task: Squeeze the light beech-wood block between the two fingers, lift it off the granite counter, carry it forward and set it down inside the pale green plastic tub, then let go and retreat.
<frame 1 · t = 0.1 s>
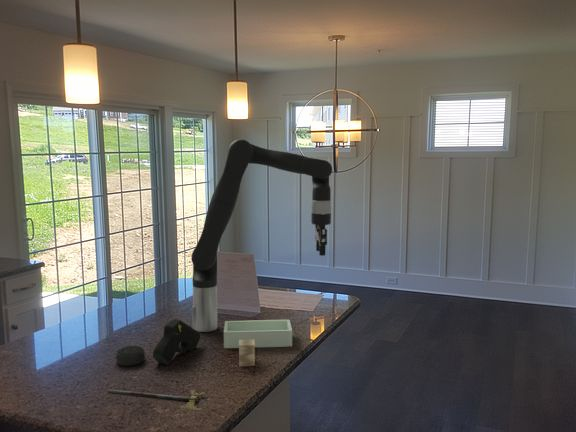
hand: (320, 253, 199), 29 cm above the kitchen island, fingers open, 8 cm apart
smart speaker: (130, 362, 168), on the kitchen island
taser: (178, 356, 173), on the kitchen island
tub: (257, 341, 186), on the kitchen island
decorative axe: (159, 397, 144), on the kitchen island
block: (247, 363, 167), on the kitchen island
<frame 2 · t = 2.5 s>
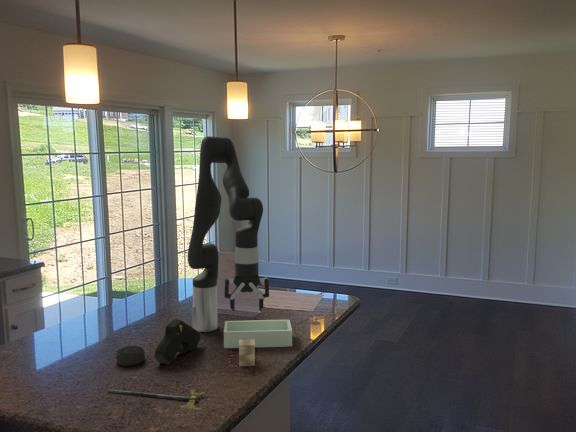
hand: (246, 309, 165), 18 cm above the kitchen island, fingers open, 8 cm apart
nothing on the kitchen island moved.
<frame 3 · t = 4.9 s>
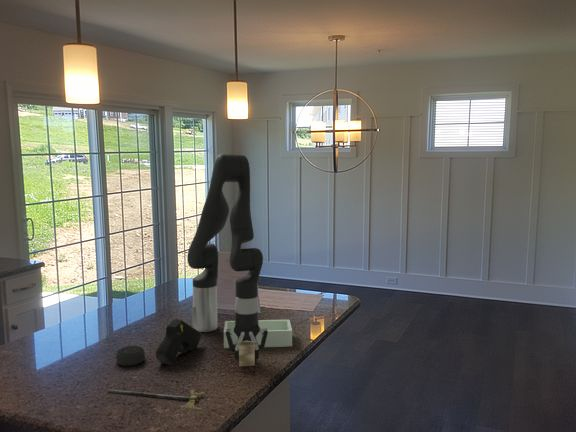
hand: (246, 359, 167), 1 cm above the kitchen island, fingers closed on block, 5 cm apart
block: (246, 362, 167), on the kitchen island, touching gripper
everything else where it was.
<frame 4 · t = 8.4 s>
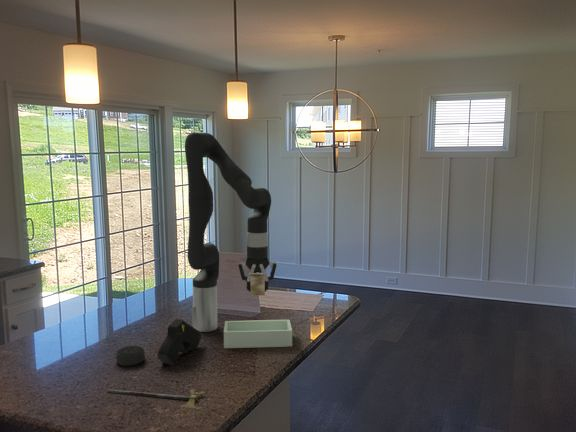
hand: (257, 290, 184), 19 cm above the kitchen island, fingers closed on block, 5 cm apart
block: (257, 293, 184), point 18 cm above the kitchen island, touching gripper
everything else where it was.
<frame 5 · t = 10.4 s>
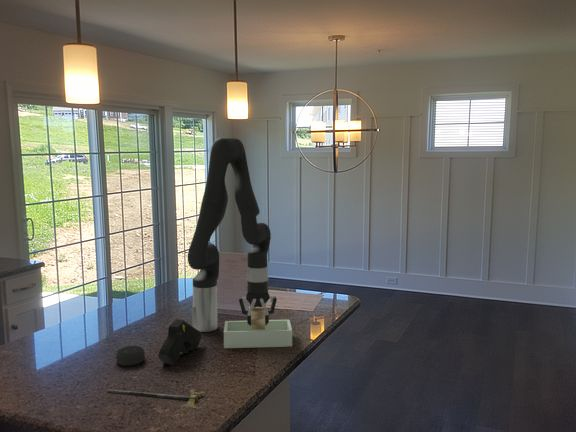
hand: (258, 324, 185), 6 cm above the kitchen island, fingers closed on block, 5 cm apart
block: (258, 327, 185), point 5 cm above the kitchen island, touching gripper
when the fingers open (3 cm above the kitchen island, at t = 12.1 s): block drops 1 cm, resting on tub.
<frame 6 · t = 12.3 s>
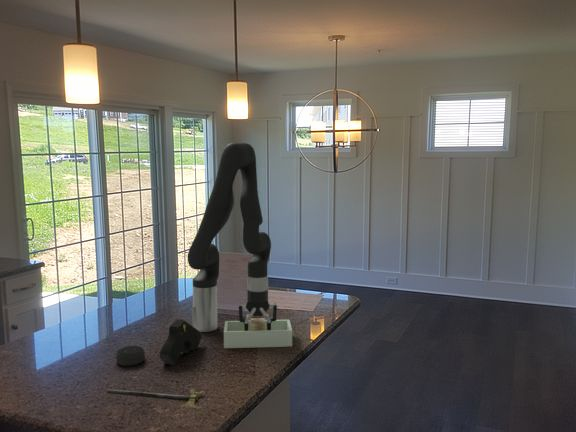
hand: (257, 332, 186), 3 cm above the kitchen island, fingers open, 7 cm apart
block: (257, 339, 186), point 1 cm above the kitchen island, touching tub
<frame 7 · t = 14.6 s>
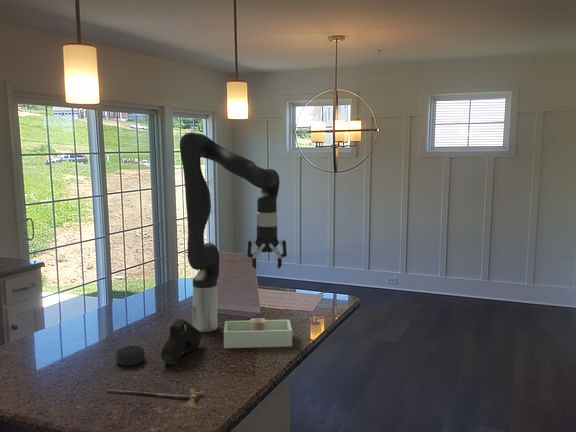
hand: (267, 268, 187), 26 cm above the kitchen island, fingers open, 8 cm apart
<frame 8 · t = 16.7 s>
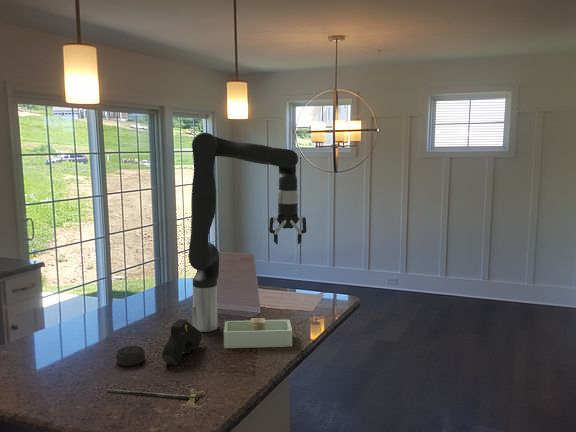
hand: (287, 243, 198), 33 cm above the kitchen island, fingers open, 8 cm apart
at the end: block inside the target area on the tub (0.0 cm from its centre), point 0.8 cm above the tub's base; the gripper is holding nothing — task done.
